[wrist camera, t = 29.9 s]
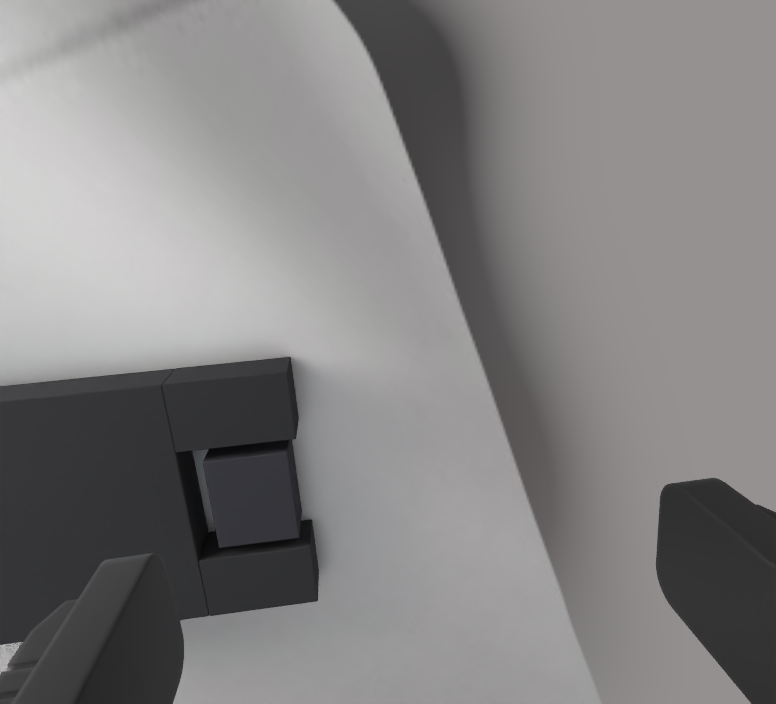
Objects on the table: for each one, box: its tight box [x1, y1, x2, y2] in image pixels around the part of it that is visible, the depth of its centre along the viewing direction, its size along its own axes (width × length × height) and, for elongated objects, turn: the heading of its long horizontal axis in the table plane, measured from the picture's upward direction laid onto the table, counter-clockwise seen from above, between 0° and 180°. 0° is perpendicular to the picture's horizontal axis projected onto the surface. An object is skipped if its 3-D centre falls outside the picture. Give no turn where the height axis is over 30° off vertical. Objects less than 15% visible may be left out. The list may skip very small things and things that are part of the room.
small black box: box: [203, 439, 302, 548], centre depth 34 cm, size 5×6×3 cm
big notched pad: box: [0, 357, 319, 645], centre depth 33 cm, size 24×16×3 cm, turn 94°
